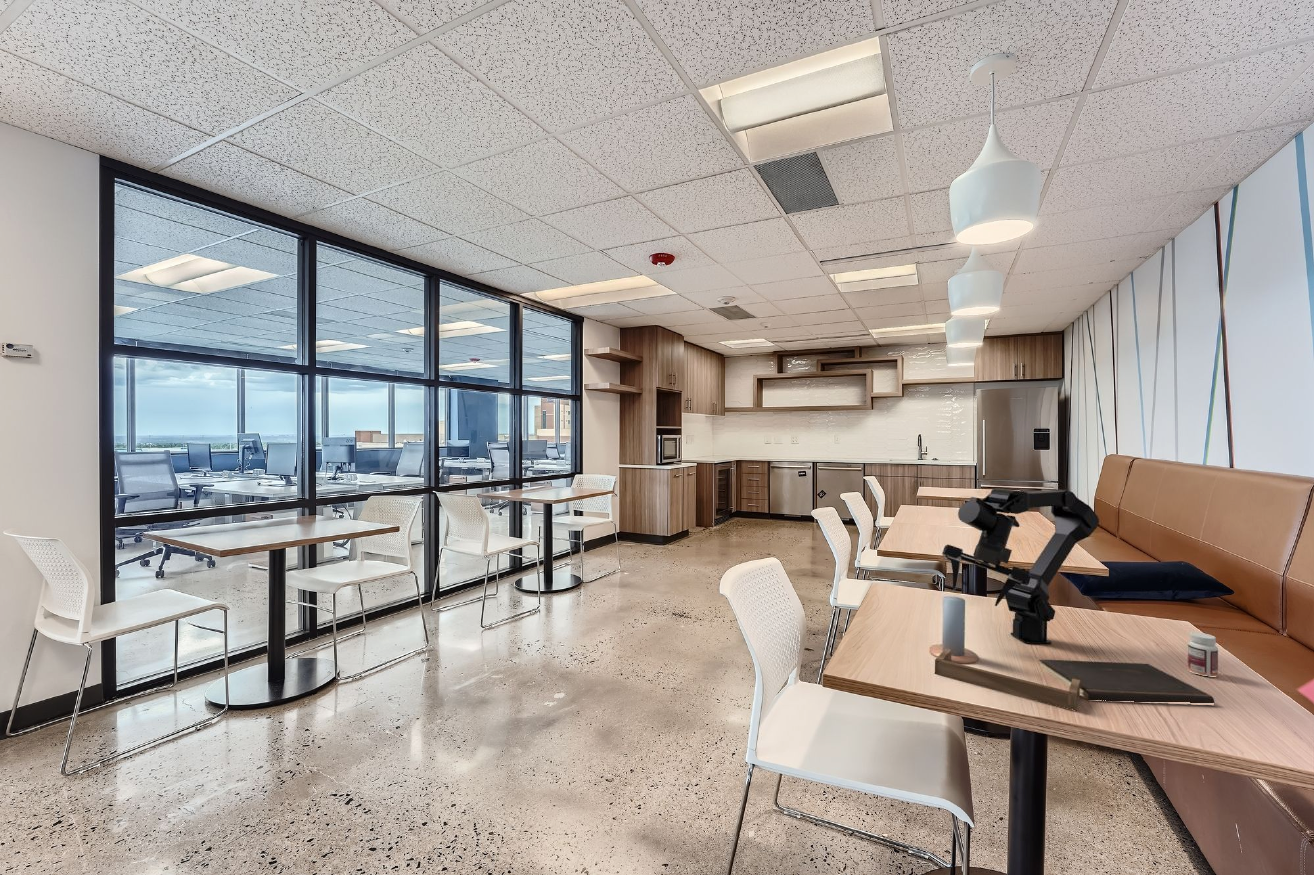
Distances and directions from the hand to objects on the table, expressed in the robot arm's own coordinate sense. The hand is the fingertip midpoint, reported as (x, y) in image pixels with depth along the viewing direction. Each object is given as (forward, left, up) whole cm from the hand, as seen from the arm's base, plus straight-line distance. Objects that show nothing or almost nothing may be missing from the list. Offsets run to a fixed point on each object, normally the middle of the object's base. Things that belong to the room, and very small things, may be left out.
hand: (974, 597), depth 136 cm
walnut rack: (+4, +20, -12) cm, 24 cm away
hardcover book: (-19, +20, -13) cm, 30 cm away
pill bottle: (-43, +13, -12) cm, 46 cm away
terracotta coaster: (+7, +5, -12) cm, 15 cm away
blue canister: (+7, +5, -11) cm, 14 cm away
